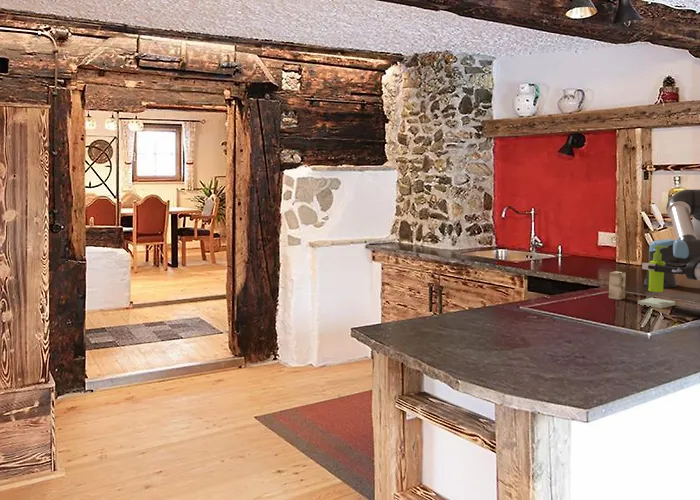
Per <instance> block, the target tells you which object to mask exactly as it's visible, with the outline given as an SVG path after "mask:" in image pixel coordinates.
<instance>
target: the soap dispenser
mask: <svg viewBox="0 0 700 500" xmlns="http://www.w3.org/2000/svg"><path fill="white" fill-rule="evenodd" d="M654 247H655V248H656V253H653V261H650V264H655V263H657V265H664V264H665V262H664V261H662V254H661V253H660V248H668V247H666V246H654ZM663 283H664V272H655V271H654V270H649V286H648V292H653V293H663V292H664V288H663Z"/></svg>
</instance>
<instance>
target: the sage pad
mask: <svg viewBox="0 0 700 500" xmlns="http://www.w3.org/2000/svg"><path fill="white" fill-rule="evenodd" d="M638 304H640V305H639V306H644V305H646V306H645V307H649V306H651V307H650V308H656V309H665V308H669V307H673V306H676V301H674V300H668V299H661V298H657V297H655V298H654V297H649V298H645V299H641V300H637V305H638Z"/></svg>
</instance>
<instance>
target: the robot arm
mask: <svg viewBox="0 0 700 500" xmlns="http://www.w3.org/2000/svg"><path fill="white" fill-rule="evenodd" d="M665 209H666V214H667V216H668V218H670V219H671V220H670V221H671V223H672V227H673V231H674V236H675V239H672V238H665V239H657V240H653V241H651V242H650V244H649V250H648V262H642V263H641V269H642V270H646V271H647V272H646V275H645V278H644V283H643V284H644V285H645V286H648V287H649V270H654V271H655V272H664V283H663V289H665V288H666V289H667V288H669V289H670V288H677V287H678V281H677V277H676V275H681V276H683V275H685V277H686V278H687V279H688V280H692V281H694V280H695V281H700V189H683V190H679V191H677V192H676V193H674V194H673V195H672V196H671V197H670V198H669V199H668V201H667V203H666V206H665ZM691 216H692V218H691ZM654 246H666V247H668V248H660V253H661V254H662V261H664V262H665V264H664V265H657V263H655V264H650V261H653V253H656V248H655V247H654Z"/></svg>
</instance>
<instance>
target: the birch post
mask: <svg viewBox="0 0 700 500" xmlns="http://www.w3.org/2000/svg"><path fill="white" fill-rule="evenodd" d="M608 274H609V280H608V281H609V282H608V299H613V300H618V301H619V300H622V299H625V298H626V274H627V273H626V271H617V270H615V271H611V272H609V273H608Z"/></svg>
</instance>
